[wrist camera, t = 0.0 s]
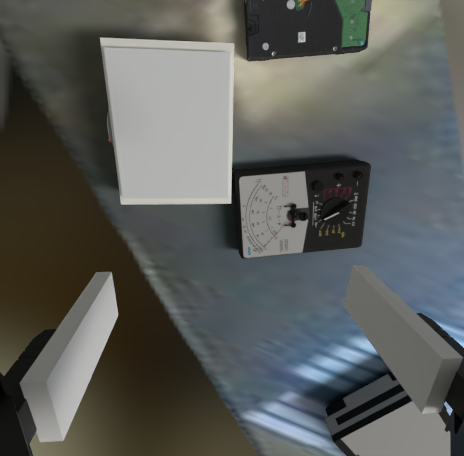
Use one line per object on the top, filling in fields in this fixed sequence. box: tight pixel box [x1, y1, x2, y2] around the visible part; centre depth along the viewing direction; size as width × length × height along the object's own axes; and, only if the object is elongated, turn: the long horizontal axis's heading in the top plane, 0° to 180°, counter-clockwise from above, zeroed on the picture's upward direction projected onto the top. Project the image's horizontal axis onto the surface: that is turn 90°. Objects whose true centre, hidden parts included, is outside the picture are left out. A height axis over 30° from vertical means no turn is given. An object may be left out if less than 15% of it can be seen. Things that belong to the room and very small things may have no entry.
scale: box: [100, 38, 234, 204], centre depth 36 cm, size 18×15×6 cm
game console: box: [325, 372, 451, 456], centre depth 62 cm, size 21×32×8 cm, turn 35°
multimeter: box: [234, 160, 371, 259], centre depth 42 cm, size 13×19×5 cm
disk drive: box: [244, 0, 372, 61], centre depth 34 cm, size 10×3×15 cm
